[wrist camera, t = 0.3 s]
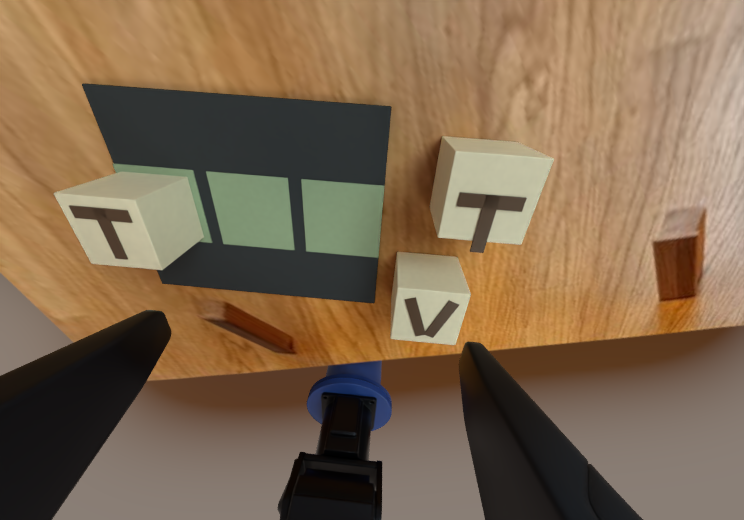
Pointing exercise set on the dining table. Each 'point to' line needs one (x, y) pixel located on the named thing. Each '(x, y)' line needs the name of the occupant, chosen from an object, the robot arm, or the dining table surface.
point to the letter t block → (486, 190)
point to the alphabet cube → (133, 219)
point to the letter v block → (428, 298)
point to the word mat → (261, 185)
